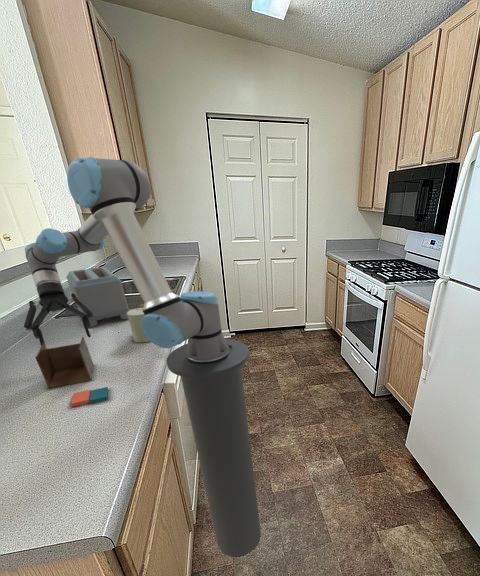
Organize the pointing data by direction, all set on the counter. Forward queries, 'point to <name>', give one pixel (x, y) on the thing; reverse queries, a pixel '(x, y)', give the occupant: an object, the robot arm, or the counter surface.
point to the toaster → (99, 293)
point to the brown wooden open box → (65, 364)
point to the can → (137, 325)
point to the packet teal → (98, 395)
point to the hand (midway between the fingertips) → (66, 341)
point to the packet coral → (80, 398)
